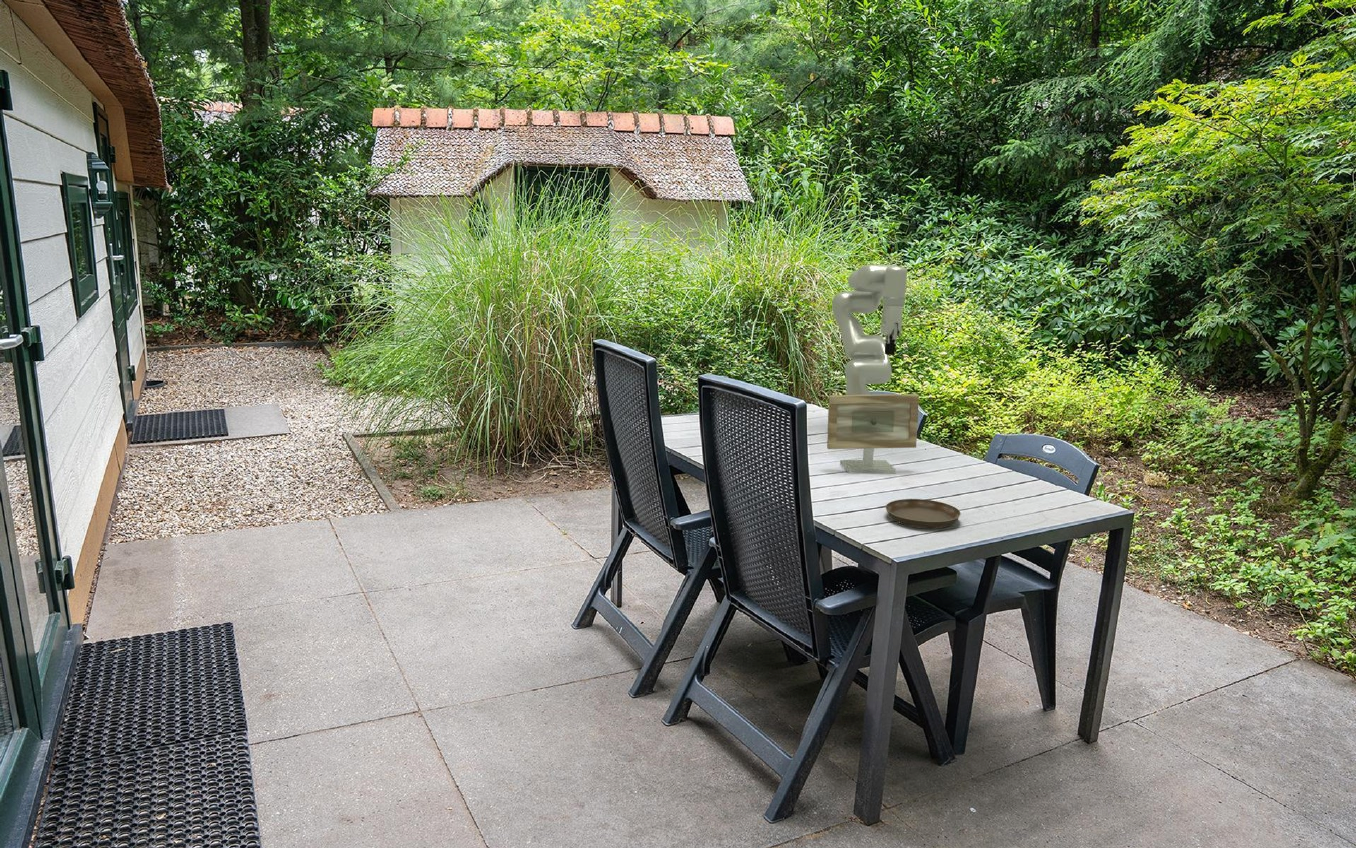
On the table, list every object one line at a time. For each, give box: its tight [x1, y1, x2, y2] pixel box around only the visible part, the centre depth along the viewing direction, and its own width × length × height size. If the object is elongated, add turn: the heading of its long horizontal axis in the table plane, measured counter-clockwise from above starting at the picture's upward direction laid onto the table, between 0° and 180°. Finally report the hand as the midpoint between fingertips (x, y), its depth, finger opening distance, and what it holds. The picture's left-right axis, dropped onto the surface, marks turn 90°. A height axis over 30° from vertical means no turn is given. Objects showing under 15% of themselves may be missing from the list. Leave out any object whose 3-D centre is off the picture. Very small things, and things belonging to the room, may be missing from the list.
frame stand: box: [839, 448, 897, 475], centre depth 317 cm, size 12×16×18 cm
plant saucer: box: [885, 498, 962, 530], centre depth 265 cm, size 21×21×3 cm
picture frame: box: [826, 393, 920, 450], centre depth 313 cm, size 3×30×18 cm, turn 94°
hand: (889, 354), depth 329 cm, fingers closed
